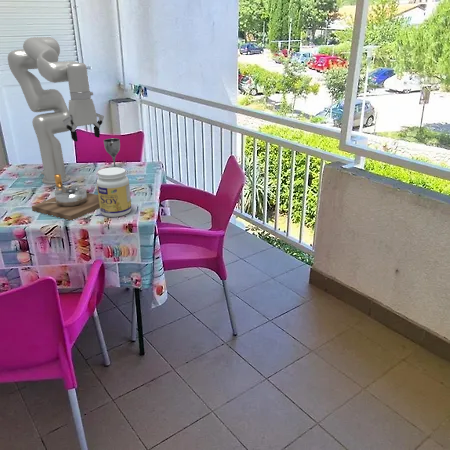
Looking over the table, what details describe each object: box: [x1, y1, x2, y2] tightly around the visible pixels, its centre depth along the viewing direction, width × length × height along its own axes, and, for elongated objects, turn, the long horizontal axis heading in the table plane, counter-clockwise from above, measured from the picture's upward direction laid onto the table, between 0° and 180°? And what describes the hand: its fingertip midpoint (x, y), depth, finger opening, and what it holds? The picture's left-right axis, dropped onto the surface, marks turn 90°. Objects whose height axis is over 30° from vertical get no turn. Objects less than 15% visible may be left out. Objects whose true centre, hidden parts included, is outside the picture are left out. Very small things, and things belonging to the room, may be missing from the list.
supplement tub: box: [96, 166, 133, 218], centre depth 169 cm, size 12×12×17 cm
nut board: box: [31, 192, 100, 221], centre depth 178 cm, size 22×22×2 cm
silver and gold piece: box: [54, 174, 87, 207], centre depth 178 cm, size 20×12×8 cm, turn 41°
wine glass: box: [103, 137, 122, 168], centre depth 224 cm, size 8×8×15 cm
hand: (86, 138), depth 179 cm, fingers open, 9 cm apart
